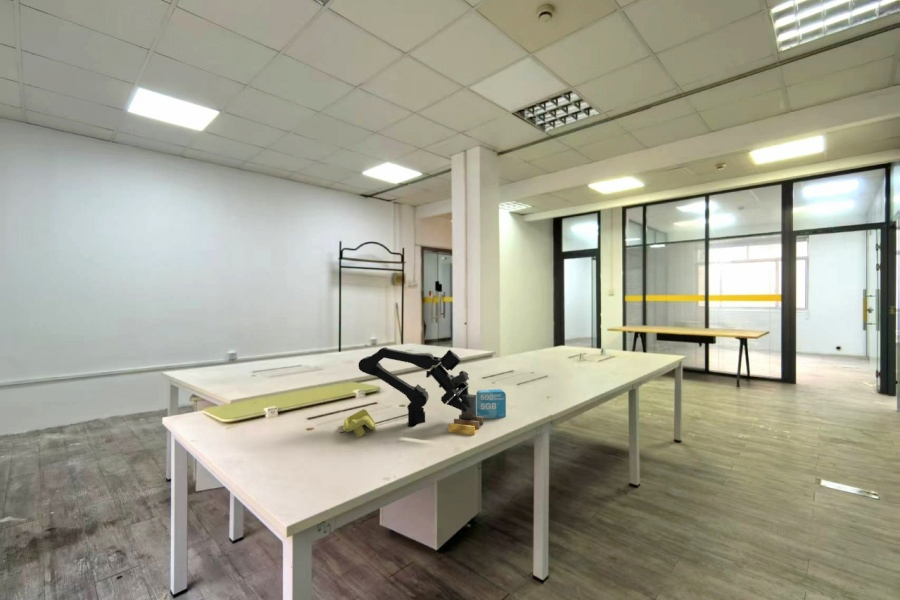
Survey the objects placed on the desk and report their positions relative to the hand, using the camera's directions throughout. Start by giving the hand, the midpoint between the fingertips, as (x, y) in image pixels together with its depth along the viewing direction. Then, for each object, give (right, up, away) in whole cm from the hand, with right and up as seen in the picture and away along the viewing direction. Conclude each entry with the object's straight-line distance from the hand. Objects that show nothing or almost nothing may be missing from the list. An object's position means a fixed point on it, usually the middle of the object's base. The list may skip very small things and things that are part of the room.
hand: (469, 408), depth 150 cm
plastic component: (-43, -8, -3) cm, 44 cm away
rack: (-1, -8, -3) cm, 9 cm away
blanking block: (0, -7, 0) cm, 7 cm away
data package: (+10, -8, +13) cm, 18 cm away
